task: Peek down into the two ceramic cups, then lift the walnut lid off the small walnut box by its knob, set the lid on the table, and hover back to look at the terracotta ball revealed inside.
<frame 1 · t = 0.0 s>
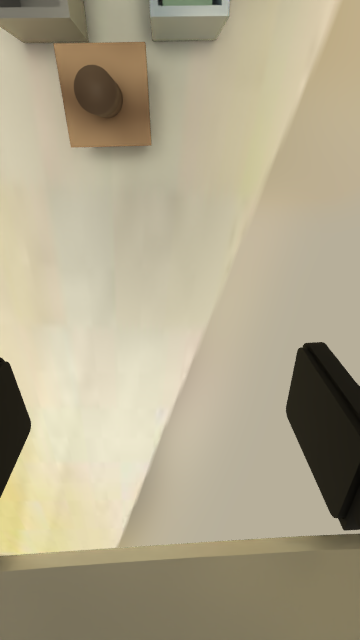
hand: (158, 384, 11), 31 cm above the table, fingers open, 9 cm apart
lid: (107, 99, 27), point 6 cm above the table, touching oak box
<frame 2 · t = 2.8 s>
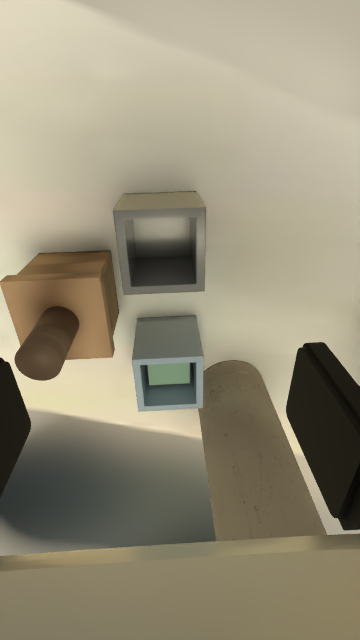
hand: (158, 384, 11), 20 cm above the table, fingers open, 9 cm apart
oak box: (81, 284, 30), on the table
cup b: (162, 228, 28), on the table
green cube: (168, 344, 34), point 1 cm above the table, touching cup a
lid: (64, 314, 25), point 6 cm above the table, touching oak box
thermos bottle: (228, 385, 38), on the table
cup a: (168, 341, 34), on the table
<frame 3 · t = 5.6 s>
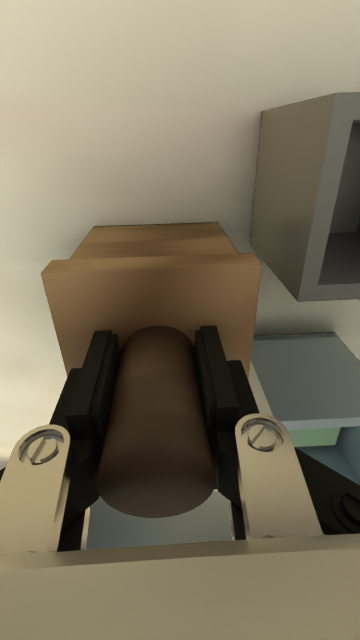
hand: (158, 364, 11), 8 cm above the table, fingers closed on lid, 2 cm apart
oak box: (159, 281, 18), on the table
cup b: (314, 182, 16), on the table
green cube: (284, 376, 21), point 1 cm above the table, touching cup a
lid: (158, 339, 13), point 6 cm above the table, touching gripper, oak box
cup a: (281, 370, 22), on the table
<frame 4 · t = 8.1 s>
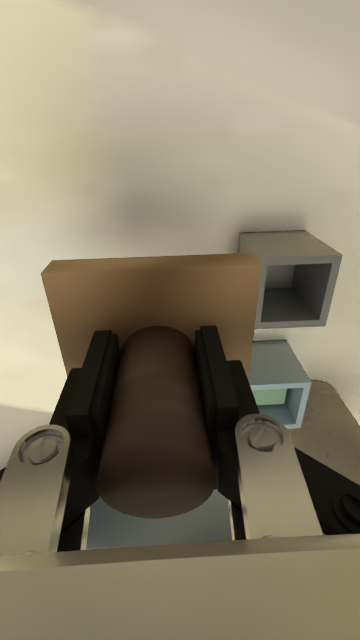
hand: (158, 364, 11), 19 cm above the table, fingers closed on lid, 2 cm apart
cup b: (268, 262, 30), on the table
green cube: (257, 366, 36), point 1 cm above the table, touching cup a
lid: (158, 340, 13), point 18 cm above the table, touching gripper
thermos bottle: (304, 403, 40), on the table
cup a: (256, 362, 36), on the table
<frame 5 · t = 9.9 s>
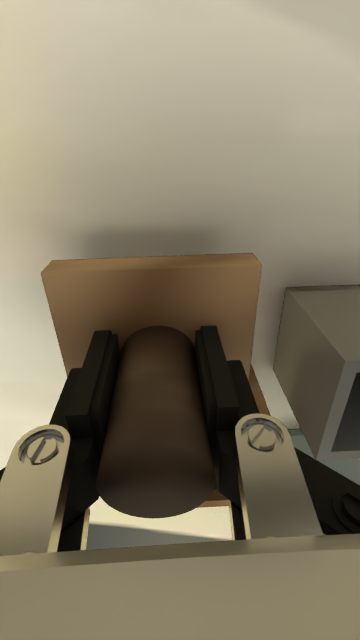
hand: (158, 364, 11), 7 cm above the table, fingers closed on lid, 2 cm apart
oak box: (198, 394, 22), on the table
cup b: (326, 329, 20), on the table
lid: (158, 339, 13), point 6 cm above the table, touching gripper
cup a: (295, 454, 26), on the table
when the fingers open (3 cm above the table, at t = 11.1 s): lid drops 2 cm, on the table.
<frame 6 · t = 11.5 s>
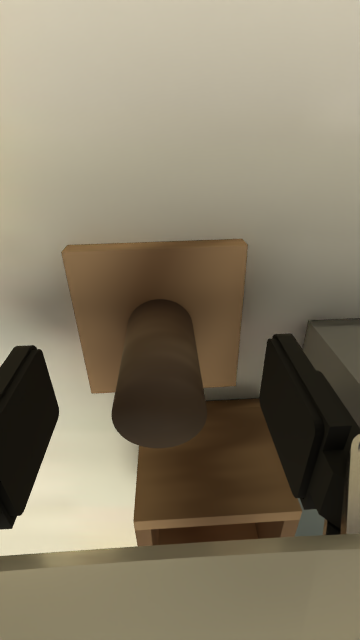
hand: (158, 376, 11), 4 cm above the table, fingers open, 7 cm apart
oak box: (200, 441, 19), on the table
cup b: (355, 367, 16), on the table
lid: (160, 314, 15), on the table
cup a: (311, 501, 23), on the table
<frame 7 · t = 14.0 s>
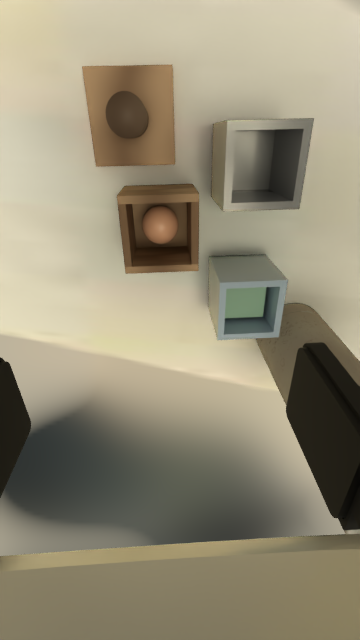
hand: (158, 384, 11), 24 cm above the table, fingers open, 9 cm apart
oak box: (160, 219, 32), on the table
terracotta ball: (160, 220, 31), point 1 cm above the table, touching oak box
cup b: (244, 161, 29), on the table
green cube: (236, 283, 35), point 1 cm above the table, touching cup a
lid: (133, 119, 27), on the table
thermos bottle: (287, 330, 39), on the table
cup a: (235, 281, 35), on the table
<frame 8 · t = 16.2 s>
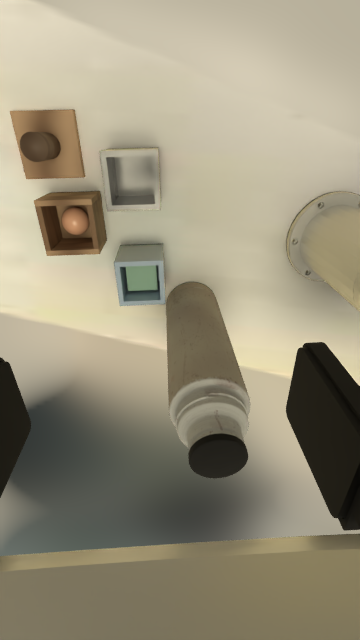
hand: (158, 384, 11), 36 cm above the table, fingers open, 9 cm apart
oak box: (79, 217, 43), on the table
terracotta ball: (78, 218, 42), point 1 cm above the table, touching oak box
cup b: (135, 174, 40), on the table
green cube: (143, 266, 46), point 1 cm above the table, touching cup a
lid: (51, 145, 39), on the table
thermos bottle: (191, 304, 50), on the table
cup a: (143, 264, 46), on the table
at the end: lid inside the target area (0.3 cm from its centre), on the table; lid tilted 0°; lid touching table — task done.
